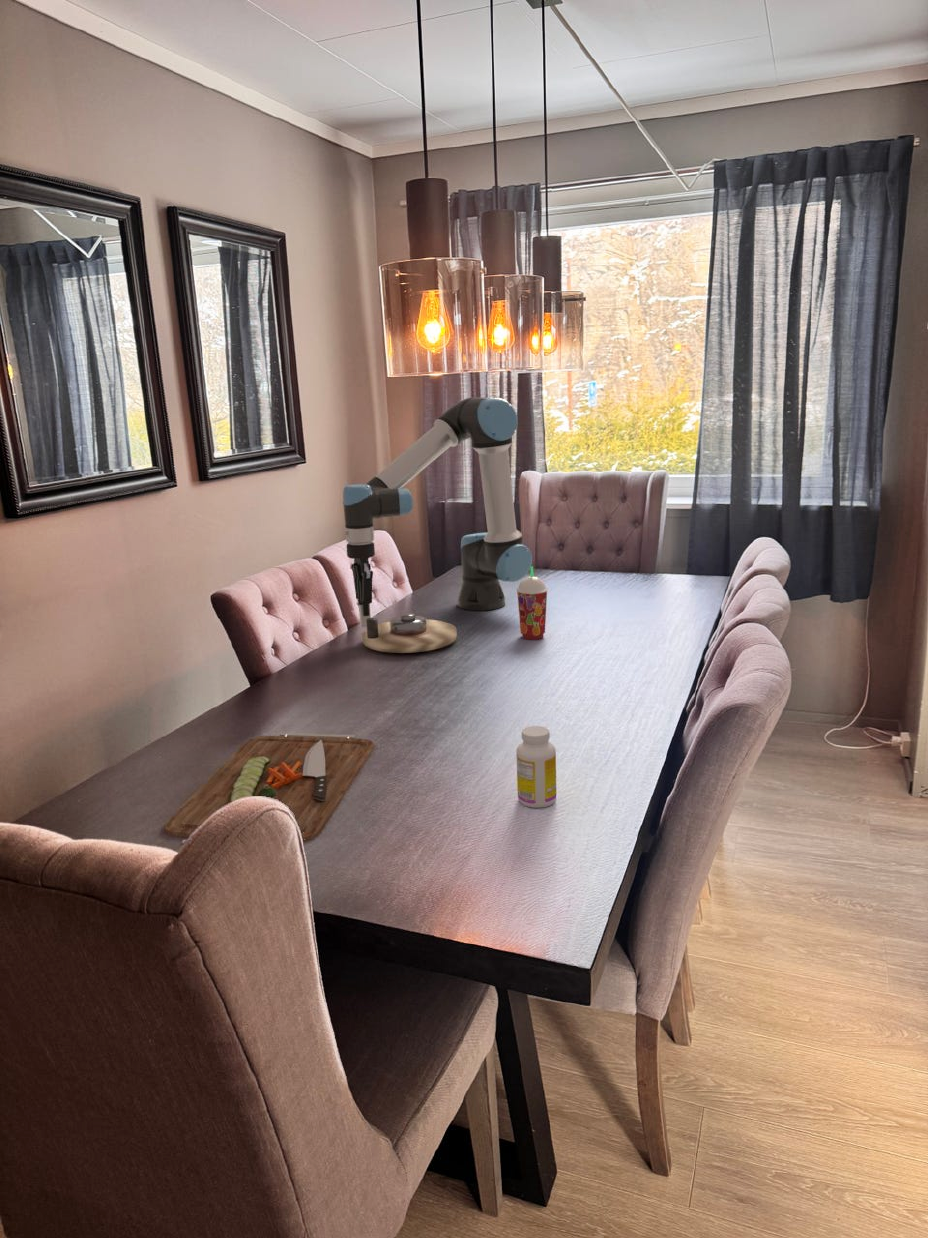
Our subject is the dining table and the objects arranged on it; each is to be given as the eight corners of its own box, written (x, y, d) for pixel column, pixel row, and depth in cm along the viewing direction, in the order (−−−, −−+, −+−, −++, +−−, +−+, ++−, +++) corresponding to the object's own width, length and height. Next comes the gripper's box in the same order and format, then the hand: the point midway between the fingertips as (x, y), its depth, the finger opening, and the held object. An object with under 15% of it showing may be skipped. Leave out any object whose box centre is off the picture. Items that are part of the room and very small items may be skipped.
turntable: (436, 621, 263) (435, 598, 261) (471, 643, 239) (470, 618, 238) (351, 633, 253) (349, 609, 251) (379, 658, 230) (377, 632, 228)
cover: (419, 624, 253) (418, 608, 252) (431, 632, 244) (431, 616, 243) (385, 628, 249) (384, 613, 248) (397, 637, 240) (396, 621, 239)
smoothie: (548, 632, 251) (547, 563, 246) (547, 641, 243) (547, 569, 238) (518, 632, 252) (517, 563, 247) (517, 641, 244) (515, 570, 239)
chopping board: (257, 736, 187) (255, 722, 186) (381, 740, 182) (380, 726, 181) (150, 845, 144) (148, 828, 143) (309, 854, 139) (308, 836, 139)
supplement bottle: (553, 790, 156) (553, 722, 153) (558, 808, 150) (558, 737, 146) (515, 792, 156) (514, 724, 153) (519, 810, 150) (517, 739, 146)
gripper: (340, 540, 245) (346, 622, 252) (353, 547, 234) (359, 633, 240) (366, 537, 248) (371, 619, 254) (380, 544, 236) (385, 630, 243)
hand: (365, 626), depth 247 cm, fingers closed
